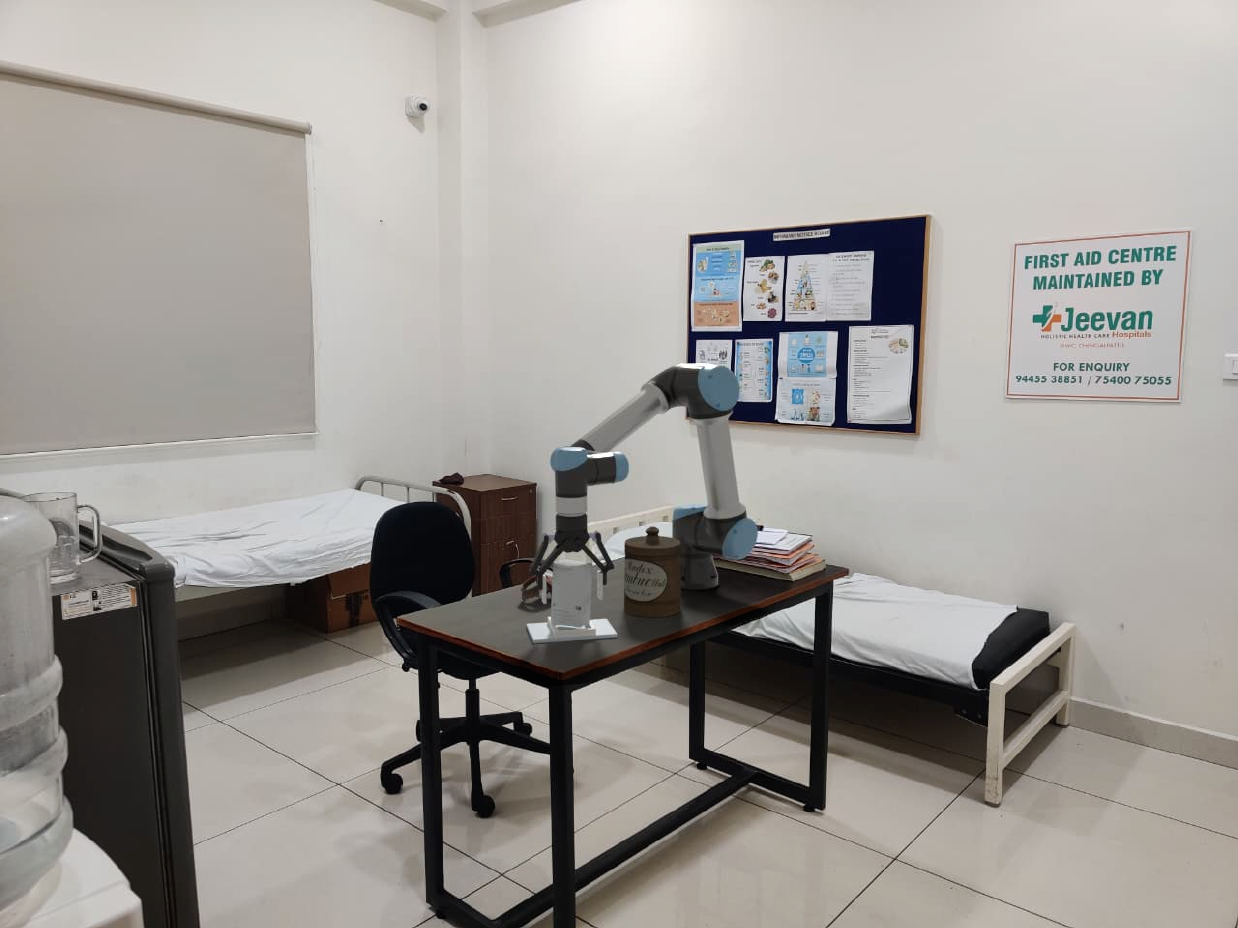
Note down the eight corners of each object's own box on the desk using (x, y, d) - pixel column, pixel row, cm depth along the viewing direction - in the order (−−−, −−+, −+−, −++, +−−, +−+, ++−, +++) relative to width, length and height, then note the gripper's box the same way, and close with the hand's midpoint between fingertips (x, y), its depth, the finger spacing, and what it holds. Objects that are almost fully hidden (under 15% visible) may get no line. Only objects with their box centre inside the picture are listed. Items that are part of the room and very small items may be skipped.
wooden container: (612, 611, 231) (613, 528, 228) (644, 597, 243) (645, 518, 240) (660, 621, 222) (662, 535, 219) (690, 607, 234) (692, 525, 231)
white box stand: (606, 621, 221) (606, 612, 221) (617, 637, 210) (617, 627, 210) (526, 626, 217) (526, 617, 217) (533, 643, 205) (533, 633, 205)
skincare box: (550, 624, 212) (550, 563, 210) (561, 617, 217) (561, 557, 215) (582, 628, 209) (582, 567, 207) (592, 621, 214) (592, 561, 212)
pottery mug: (560, 608, 234) (545, 583, 232) (529, 621, 236) (514, 597, 233) (564, 585, 245) (550, 561, 243) (534, 598, 247) (520, 574, 244)
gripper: (619, 507, 216) (619, 592, 219) (516, 512, 210) (518, 599, 213) (626, 513, 209) (626, 601, 212) (520, 518, 203) (522, 608, 206)
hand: (572, 600), depth 213 cm, fingers open, 13 cm apart
